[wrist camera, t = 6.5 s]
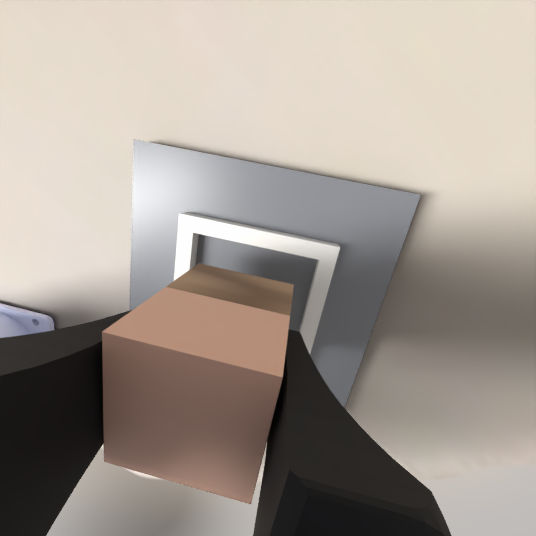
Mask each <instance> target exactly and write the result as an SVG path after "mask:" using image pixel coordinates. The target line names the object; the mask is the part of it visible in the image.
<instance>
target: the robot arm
mask: <svg viewBox="0 0 536 536" xmlns="http://www.w3.org/2000/svg"><path fill="white" fill-rule="evenodd" d="M131 311H132V310H130V311H127V312H124V313H121V314H118V315H114V316H111V317H107V318H104V319H100V320H97V321H93V322H89V323H85V324H81V325H77V326H72V327H67V328H62V329H58V330H54V321H53V319H52V318H51V317H50V316H48V315H45V314H41V313H37V312H33V311H29V310H25V309H21V308H17V307H13V306H9V305H5V304H1V303H0V536H46V535H47V533H48V531H49V530H50V528H51V526H52V524H53V523H54V521H55V519H56V518H57V516H58V514H59V513H60V511H61V510H62V508H63V506H64V505H65V503H66V501H67V500H68V498H69V497H70V494H71V493H72V492H73V490H74V488H75V487H76V485H77V483H78V482H79V480H80V479H81V477H82V476H83V474H84V472H85V471H86V469H87V468H88V466H89V465H90V463H91V462H92V460H93V458H94V457H95V455H96V454H97V452H98V450H99V449H100V448H101V446H102V445H103V443H104V427H103V362H102V331H104V330H105V329H107V328H108V327H110V326H111V325H112V324H114V323H115V322H117V321H118V320H119V319H121V318H122V317H124V316H125V315H126V314H128V313H129V312H131ZM253 536H451V534H450V531H449V529H448V526H447V524H446V521H445V519H444V517H443V515H442V513H441V511H440V508H439V506H438V504H437V502H436V500H435V498H434V496H433V494H432V492H431V491H430V490H429V489H428V488H427V487H426V486H424V485H423V484H422V483H421V482H419V481H418V480H417V479H416V478H415V477H414V476H413V475H411V474H410V473H409V472H408V471H407V470H405V469H404V468H403V467H402V466H401V465H400V464H398V463H397V462H396V461H395V460H394V459H393V458H392V457H391V456H389V455H388V454H387V453H386V452H385V451H384V450H383V449H382V448H381V447H380V446H379V445H378V444H377V443H376V442H375V441H374V440H373V439H372V438H371V437H370V436H369V435H368V434H367V433H366V432H365V431H364V430H363V429H362V428H361V427H360V426H359V424H358V423H357V422H356V421H355V420H354V419H353V418H352V417H351V415H350V414H349V413H348V412H347V411H346V410H345V408H344V407H343V406H342V405H341V403H340V402H339V401H338V399H337V398H336V397H335V395H334V394H333V393H332V391H331V390H330V389H329V387H328V386H327V384H326V382H325V381H324V379H323V378H322V376H321V374H320V373H319V371H318V369H317V367H316V365H315V363H314V362H313V360H312V358H311V356H310V354H309V352H308V349H307V347H306V345H305V343H304V340H303V337H302V335H301V333H300V332H299V331H294V330H290V329H288V338H287V346H286V354H285V363H284V371H283V378H282V382H281V386H280V390H279V394H278V398H277V402H276V406H275V410H274V414H273V418H272V422H271V426H270V430H269V434H268V438H267V450H266V459H265V466H264V472H263V479H262V485H261V491H260V497H259V503H258V509H257V516H256V522H255V528H254V534H253Z"/></svg>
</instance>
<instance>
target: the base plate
mask: <svg viewBox="0 0 536 536" xmlns="http://www.w3.org/2000/svg"><path fill="white" fill-rule="evenodd" d="M420 196H421V195H420V194H415V193H410V192H404V191H399V190H394V189H389V188H384V187H379V186H373V185H368V184H363V183H358V182H353V181H347V180H342V179H337V178H332V177H327V176H322V175H316V174H311V173H306V172H301V171H296V170H290V169H285V168H280V167H275V166H270V165H265V164H259V163H254V162H249V161H244V160H239V159H234V158H228V157H223V156H218V155H213V154H208V153H202V152H197V151H192V150H187V149H182V148H177V147H171V146H166V145H161V144H156V143H151V142H145V141H140V140H135V139H134V141H133V185H132V229H131V273H130V310H134V309H135V308H136V307H138V306H139V305H141V304H142V303H143V302H145V301H146V300H148V299H149V298H151V297H152V296H153V295H155V294H156V293H158V292H159V291H160V290H162V289H163V288H165V287H166V286H167V285H169V284H170V283H172V282H173V281H175V280H176V279H177V278H179V277H180V276H182V275H183V274H184V273H186V272H187V271H189V270H190V269H191V268H193V267H194V266H196V265H197V264H199V263H200V264H205V265H209V266H214V267H218V268H223V269H227V270H231V271H236V272H240V273H245V274H249V275H254V276H258V277H263V278H267V279H271V280H276V281H280V282H285V283H289V284H294V287H293V296H292V304H291V312H290V321H289V329H290V330H294V331H299V332H300V333H301V335H302V337H303V340H304V343H305V345H306V347H307V349H308V352H309V354H310V356H311V358H312V360H313V362H314V363H315V365H316V367H317V369H318V371H319V373H320V374H321V376H322V378H323V379H324V381H325V382H326V384H327V386H328V387H329V389H330V390H331V391H332V393H333V394H334V395H335V397H336V398H337V399H338V401H339V402H340V403H341V405H342V406H343V407H344V408H345V405H346V402H347V400H348V397H349V394H350V391H351V388H352V386H353V383H354V380H355V377H356V375H357V372H358V369H359V366H360V363H361V361H362V358H363V355H364V352H365V349H366V347H367V344H368V341H369V338H370V335H371V333H372V330H373V327H374V324H375V322H376V319H377V316H378V313H379V310H380V308H381V305H382V302H383V299H384V296H385V294H386V291H387V288H388V285H389V282H390V280H391V277H392V274H393V271H394V269H395V266H396V263H397V260H398V257H399V255H400V252H401V249H402V246H403V243H404V241H405V238H406V235H407V232H408V229H409V227H410V224H411V221H412V218H413V216H414V213H415V210H416V207H417V204H418V202H419V199H420Z"/></svg>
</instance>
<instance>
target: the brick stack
mask: <svg viewBox="0 0 536 536" xmlns="http://www.w3.org/2000/svg"><path fill="white" fill-rule="evenodd" d="M293 287H294V284H289V283H285V282H280V281H276V280H271V279H267V278H263V277H258V276H254V275H249V274H245V273H240V272H236V271H231V270H227V269H223V268H218V267H214V266H209V265H205V264H200V263H199V264H197V265H196V266H194V267H193V268H191V269H190V270H189V271H187V272H186V273H184V274H183V275H182V276H180V277H179V278H177V279H176V280H175V281H173V282H172V283H170V284H169V285H167V286H166V287H165V288H163V289H162V290H160V291H159V292H158V293H156V294H155V295H153V296H152V297H151V298H149V299H148V300H146V301H145V302H143V303H142V304H141V305H139V306H138V307H136V308H135V309H134V310H132V311H131V312H129V313H128V314H126V315H125V316H124V317H122V318H121V319H119V320H118V321H117V322H115V323H114V324H112V325H111V326H110V327H108V328H107V329H105V330H104V331H102V362H103V427H104V462H107V463H111V464H114V465H117V466H121V467H124V468H128V469H131V470H134V471H138V472H141V473H145V474H148V475H152V476H155V477H159V478H162V479H165V480H169V481H172V482H176V483H179V484H183V485H186V486H190V487H193V488H196V489H200V490H204V491H207V492H210V493H214V494H217V495H221V496H224V497H228V498H231V499H234V500H238V501H241V502H245V503H248V504H251V502H252V498H253V494H254V490H255V486H256V482H257V478H258V474H259V470H260V466H261V462H262V458H263V454H264V450H265V446H266V442H267V438H268V434H269V430H270V426H271V422H272V418H273V414H274V410H275V406H276V402H277V398H278V394H279V390H280V386H281V382H282V378H283V371H284V363H285V354H286V346H287V338H288V329H289V321H290V312H291V304H292V296H293Z"/></svg>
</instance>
